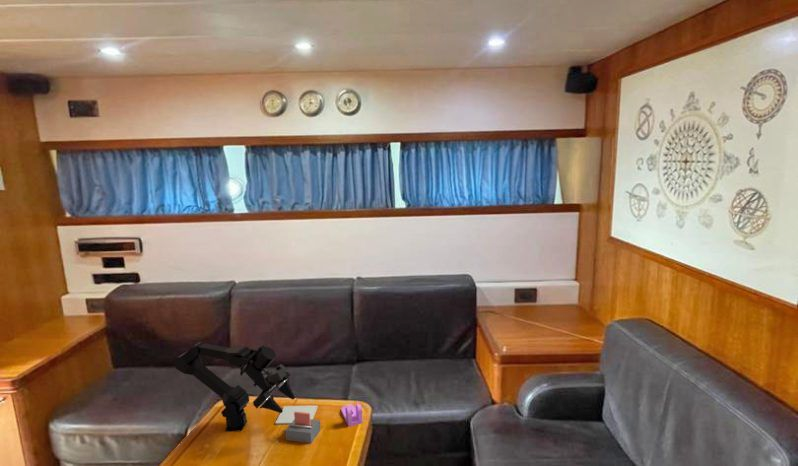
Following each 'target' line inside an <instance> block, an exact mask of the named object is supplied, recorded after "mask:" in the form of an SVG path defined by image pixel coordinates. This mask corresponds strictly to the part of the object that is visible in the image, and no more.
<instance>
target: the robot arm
mask: <svg viewBox="0 0 798 466" xmlns="http://www.w3.org/2000/svg"><path fill="white" fill-rule="evenodd" d="M201 357H205V358H211V359H215V360H221V361H224V362H225V363H227V364H228V365H229V366H232V367H235V368H240V373H239V375H240V376H241V377H242V376H243V375H244V374H246V375H247V377H248V378H249V379H250V380H251V381H252V382H253V386H254V387H258V388H259V389H260V391H261V392H260V394H259V395H257V397H255V399H254V400H253V402H252V404H253V407H255V409H258V408H259V409H262V408H263V409H265V410H271V411H274V412H277V413H279V414H280V413H282V412H283V410H282V409H283V408H281V406H280V405H279V403H277V402H276V400H275V399H274V394H272V393H273V392H274V391H275V390H276V389H277V388H278V389H277V391H279V392H280V393H282V394H283V395H284V396H286V397H288V398H289V399H291V400H295V398H296V397H295V394H294V393H293V390H292V388H291V384H290V380H291V377H290V376H291V374H290V373H289V372H288V371H287V367H286V366H284V365H283V364H282V363H281V364H279V365H277V366H276V368H275V369H274V370H273V371H272V370H270V369H268V370H266V368H267V367H268V366H269V365H270V364H271V363H272V362H273V361H274V360H275V359H276V357H277V354H276V352H275V350H274V349H273V348H272V347H269V346H265V345H263V344H262V345H261V346H259V347H258V348H257V350H255V349H252V348H249V347H248V346H235V347H234V346H233V347H226V346H222V345H216V344H210V343H207V342H204V341H199V342H198V343H196V344H194V345H193V346H191V348H189V350H187V351H185V352H184V353H181V355H179V356H177V357H175V359H174V361H173V362H174V368H175V369H176V370H177V371H178V372H180V373H182V374H185V375H190V376H193V377H195V378H196V379H197V380H198V381H199V382H201V383H202V384H203V385H205V386H206V387H207V388H208V389H210V390H211V391H212V392H213V393H215V394H216V395H217V396H218V397H220V398H221V401H222V404H223V406H224V408H223V409H222V410H221V412H220V413H221V416H222V417H223V418H225V422H226V423H225V424H226V427H225V429H224V431H225V432H241V431H243V429H244V428H245V426H246V425H247V423H248V419H247V414H246V412H245V408H246V407H247V405H248V403H249V402H250V397H249V396H250V395H249V393H248V392H247V390H246V389H244V388H242V387H241V386H240V385H239V384H237V385H236V386H235V387H234V386H230V384H228V383H227V382H226V381H224V380H223V379H222V378H221V377H219V376H217V375H216V374H215V373H214V372H213V371H212V370H210V369H209V368H207V366H205V365H204V364H203V361H202V359H201Z"/></svg>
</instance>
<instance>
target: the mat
mask: <svg viewBox="0 0 798 466" xmlns="http://www.w3.org/2000/svg"><path fill="white" fill-rule="evenodd" d="M318 406H319V405H284V406H283V407H282V408H281V409H282V410H283V412H282V413H279V415H278V417H277V419H276V421H275V422H274V424H275V425H290V424H291V423H292V422H293V420H294V419H295V418H294V412H295V411H296V412H305V413H310V419H312V420H314V417H315V414H316V412H317V410H318Z"/></svg>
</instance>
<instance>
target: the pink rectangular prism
mask: <svg viewBox="0 0 798 466" xmlns="http://www.w3.org/2000/svg"><path fill="white" fill-rule="evenodd" d="M294 418H295V425H303V426H311V421H310V413H305V412H296V411H295V412H294Z"/></svg>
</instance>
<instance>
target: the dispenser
mask: <svg viewBox="0 0 798 466" xmlns="http://www.w3.org/2000/svg"><path fill="white" fill-rule="evenodd" d="M310 421H311V426H303V425H295V419H294V420H293V422H292V423H291V424H288V426H287V428H286V429H285V439H286V440H287V441H291V442H292V441H293V442H300V443H305V444H306V443H307V444H312V443H313V442H314V440H315V438H317V436H318V434H319V433H320V432H321V421H320V419H313V420H312V419H310Z"/></svg>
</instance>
